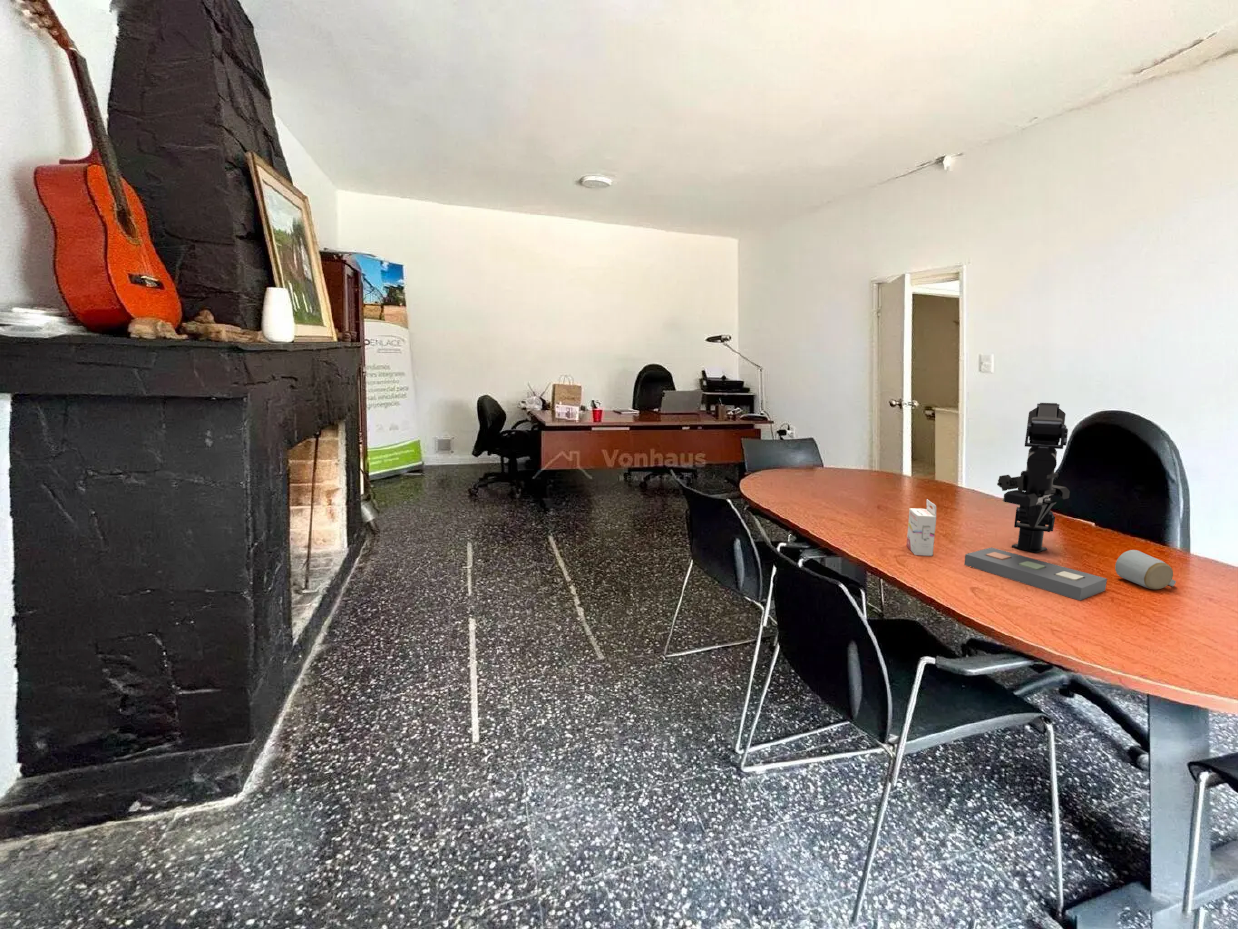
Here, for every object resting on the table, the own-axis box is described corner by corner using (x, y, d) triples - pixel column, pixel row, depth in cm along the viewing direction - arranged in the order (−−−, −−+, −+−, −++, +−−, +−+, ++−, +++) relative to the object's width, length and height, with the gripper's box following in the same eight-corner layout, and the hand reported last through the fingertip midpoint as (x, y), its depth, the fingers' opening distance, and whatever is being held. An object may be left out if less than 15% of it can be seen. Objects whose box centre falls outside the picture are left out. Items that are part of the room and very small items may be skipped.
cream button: (1062, 580, 135) (1063, 571, 134) (1082, 586, 131) (1083, 576, 131) (1053, 583, 133) (1055, 573, 133) (1073, 589, 130) (1075, 579, 129)
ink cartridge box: (905, 545, 164) (909, 497, 161) (923, 546, 163) (927, 498, 160) (914, 555, 156) (919, 504, 153) (933, 556, 155) (938, 505, 152)
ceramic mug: (1144, 591, 130) (1150, 560, 129) (1111, 578, 138) (1117, 549, 137) (1186, 591, 131) (1192, 560, 129) (1151, 578, 139) (1157, 549, 137)
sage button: (1026, 570, 142) (1027, 561, 141) (1043, 575, 138) (1045, 565, 138) (1017, 573, 140) (1018, 563, 140) (1035, 578, 137) (1036, 568, 136)
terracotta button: (993, 560, 149) (994, 551, 148) (1009, 565, 145) (1010, 556, 145) (984, 563, 147) (985, 554, 147) (1000, 568, 144) (1002, 558, 143)
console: (990, 557, 153) (991, 547, 153) (1105, 590, 131) (1107, 578, 130) (964, 564, 148) (965, 554, 147) (1079, 600, 125) (1081, 588, 125)
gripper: (1027, 460, 152) (1020, 514, 154) (985, 466, 144) (978, 523, 147) (1074, 466, 142) (1066, 525, 145) (1032, 474, 134) (1024, 535, 137)
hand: (1032, 526), depth 143 cm, fingers closed
